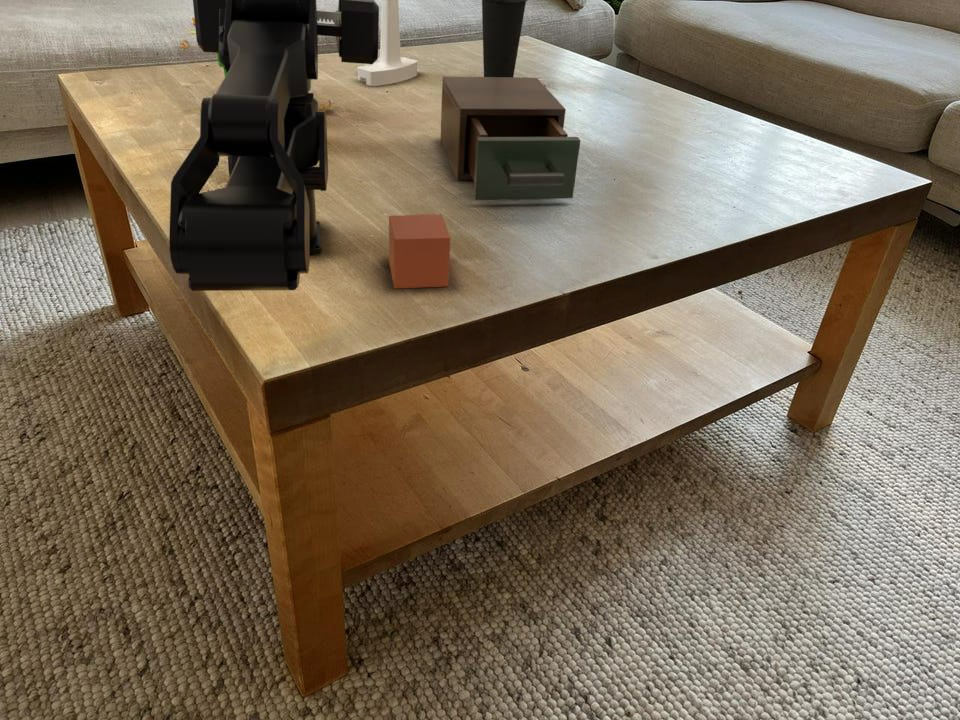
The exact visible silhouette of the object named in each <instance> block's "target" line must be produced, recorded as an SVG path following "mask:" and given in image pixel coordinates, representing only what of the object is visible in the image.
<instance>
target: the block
mask: <svg viewBox="0 0 960 720" xmlns="http://www.w3.org/2000/svg"><path fill="white" fill-rule="evenodd" d="M450 254H451V235H450V233H449V230H448V228H447V225H446V222H445V220H444V216H443V214H442V213H441V214H402V215H401V214H399V215H397V214H396V215H388V265H389V269H390V274H391V279H392V283H393V289H395V290H396V289H418V288H441V287H449V277H450V256H451V255H450Z"/></svg>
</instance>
